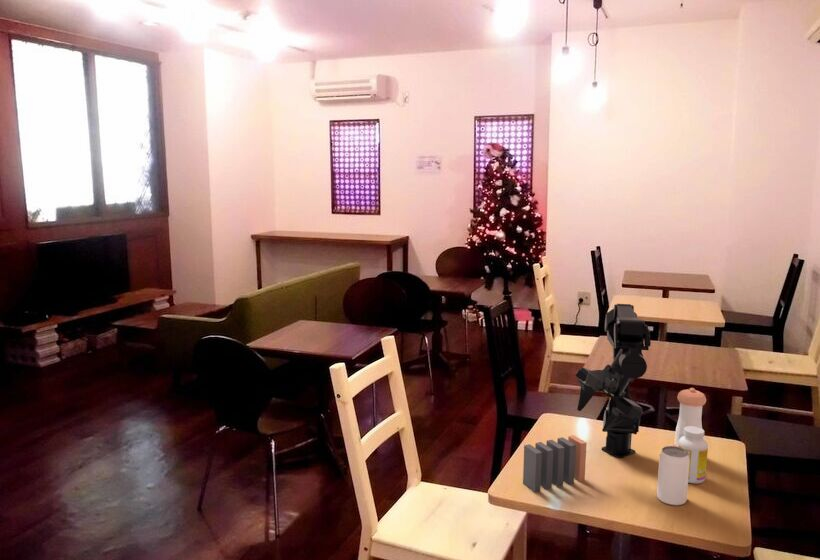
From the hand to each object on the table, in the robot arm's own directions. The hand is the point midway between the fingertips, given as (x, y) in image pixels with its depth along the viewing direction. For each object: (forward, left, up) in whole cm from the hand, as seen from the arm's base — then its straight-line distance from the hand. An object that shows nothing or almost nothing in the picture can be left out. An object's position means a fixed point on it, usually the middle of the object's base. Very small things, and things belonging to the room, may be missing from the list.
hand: (590, 420), depth 163 cm
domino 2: (+15, -1, -14) cm, 20 cm away
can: (-6, +20, -14) cm, 25 cm away
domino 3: (+12, 0, -14) cm, 18 cm away
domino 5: (+5, 0, -14) cm, 15 cm away
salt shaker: (-29, +8, -14) cm, 33 cm away
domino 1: (+18, -1, -14) cm, 23 cm away
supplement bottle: (-19, +16, -14) cm, 28 cm away
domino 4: (+8, 0, -14) cm, 16 cm away
